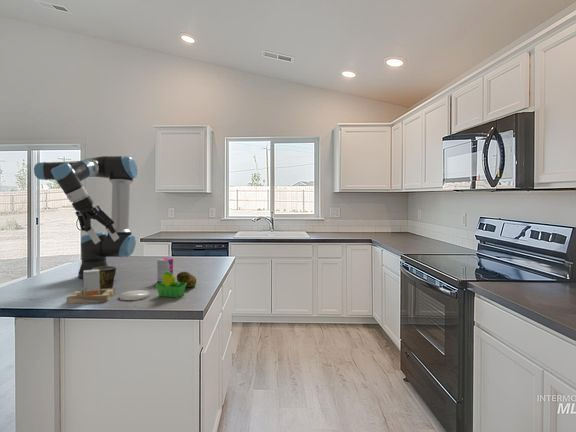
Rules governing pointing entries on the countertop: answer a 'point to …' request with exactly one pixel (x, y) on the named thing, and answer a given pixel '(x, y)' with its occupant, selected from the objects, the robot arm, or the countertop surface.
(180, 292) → the fruit basket
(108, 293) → the block
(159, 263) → the supplement box
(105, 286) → the ceramic cup
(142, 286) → the countertop surface
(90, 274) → the skincare box
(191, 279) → the potato
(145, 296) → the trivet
